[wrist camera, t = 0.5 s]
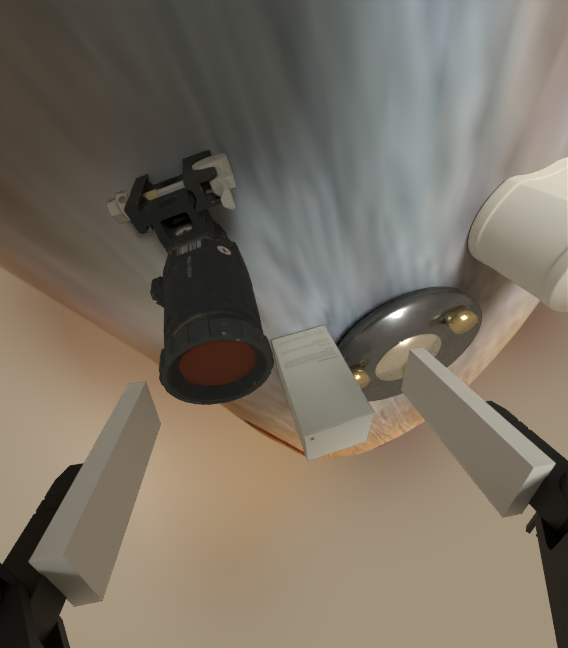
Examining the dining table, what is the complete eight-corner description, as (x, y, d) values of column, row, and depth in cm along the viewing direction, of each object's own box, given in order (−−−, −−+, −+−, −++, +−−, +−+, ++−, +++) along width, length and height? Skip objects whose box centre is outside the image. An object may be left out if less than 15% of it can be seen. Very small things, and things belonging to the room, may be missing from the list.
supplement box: (277, 372, 38) (305, 463, 29) (270, 338, 33) (302, 437, 24) (325, 358, 39) (367, 443, 30) (326, 323, 34) (377, 413, 25)
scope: (263, 231, 9) (313, 383, 16) (220, 143, 18) (264, 263, 25) (24, 321, 8) (184, 432, 16) (108, 185, 18) (184, 293, 25)
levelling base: (334, 297, 31) (355, 330, 27) (491, 266, 35) (529, 291, 31) (320, 396, 46) (333, 425, 43) (430, 367, 50) (450, 392, 46)
